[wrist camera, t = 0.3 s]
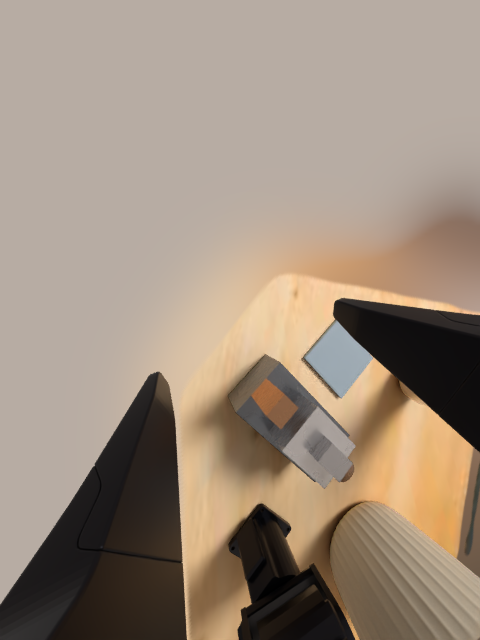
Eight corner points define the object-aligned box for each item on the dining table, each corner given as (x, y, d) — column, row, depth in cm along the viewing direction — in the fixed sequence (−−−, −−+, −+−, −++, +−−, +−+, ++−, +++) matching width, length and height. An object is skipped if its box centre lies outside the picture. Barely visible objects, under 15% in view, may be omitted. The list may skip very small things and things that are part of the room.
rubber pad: (370, 357, 29) (372, 358, 29) (339, 397, 28) (341, 398, 27) (338, 316, 27) (340, 316, 27) (303, 357, 26) (305, 358, 25)
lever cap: (334, 428, 23) (366, 454, 19) (306, 465, 22) (333, 500, 18) (300, 393, 21) (326, 412, 17) (268, 431, 20) (288, 461, 16)
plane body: (328, 419, 27) (382, 461, 20) (297, 458, 26) (343, 519, 19) (265, 354, 24) (301, 374, 17) (227, 395, 23) (247, 437, 15)
